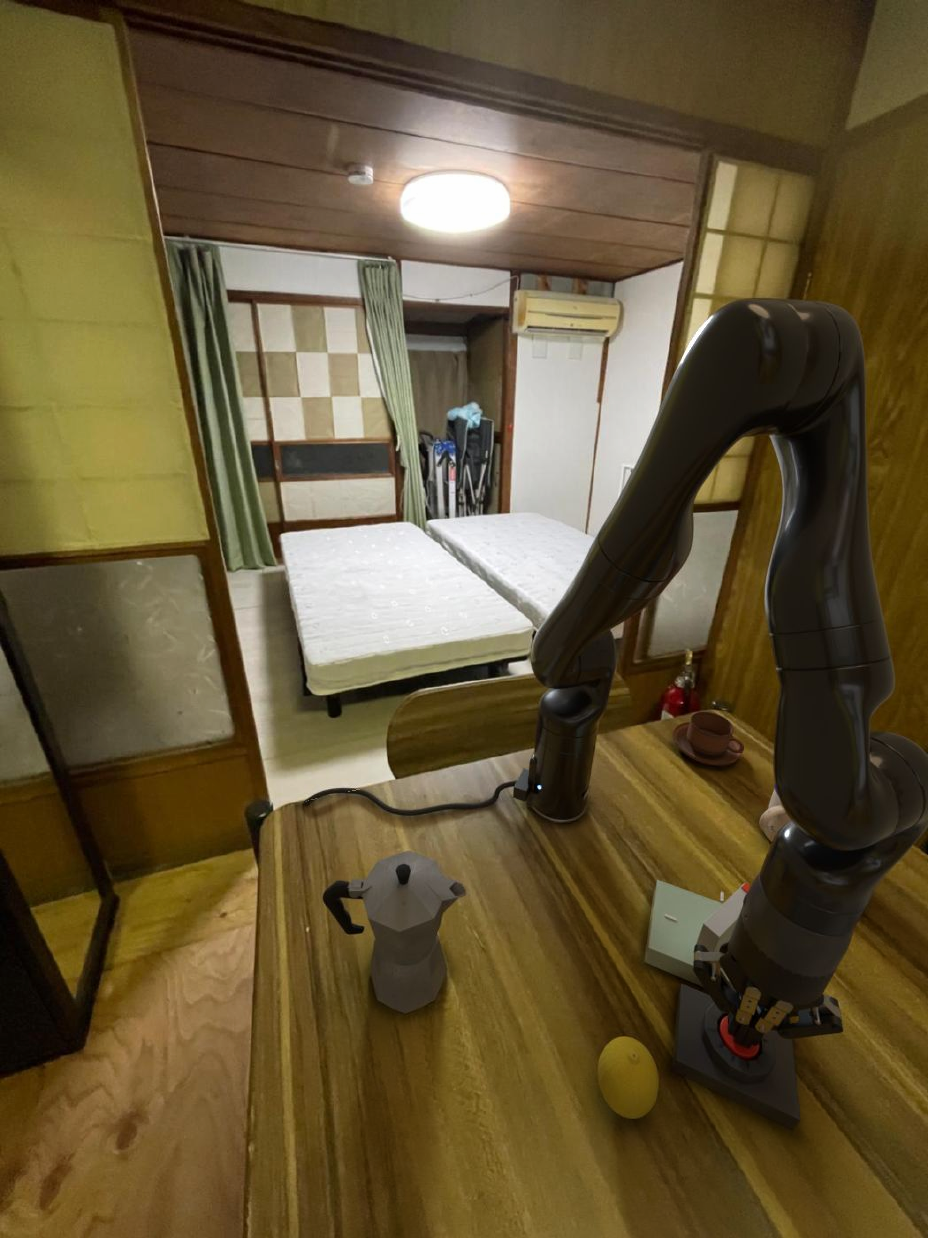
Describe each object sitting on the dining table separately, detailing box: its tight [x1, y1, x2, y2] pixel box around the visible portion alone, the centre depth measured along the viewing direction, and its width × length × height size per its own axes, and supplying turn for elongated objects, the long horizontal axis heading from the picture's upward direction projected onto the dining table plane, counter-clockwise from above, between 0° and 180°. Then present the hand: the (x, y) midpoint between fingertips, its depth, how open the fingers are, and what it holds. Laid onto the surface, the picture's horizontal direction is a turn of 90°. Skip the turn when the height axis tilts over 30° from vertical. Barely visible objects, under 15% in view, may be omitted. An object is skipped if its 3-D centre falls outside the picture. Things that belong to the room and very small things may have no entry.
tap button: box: [717, 1016, 759, 1061], centre depth 53 cm, size 4×4×2 cm
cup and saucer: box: [672, 711, 745, 767], centre depth 96 cm, size 12×12×6 cm
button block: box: [671, 983, 801, 1131], centre depth 53 cm, size 11×8×4 cm
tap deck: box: [643, 879, 736, 992], centre depth 63 cm, size 15×13×3 cm
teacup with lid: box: [758, 784, 791, 843], centre depth 77 cm, size 12×9×12 cm
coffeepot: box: [322, 850, 467, 1015], centre depth 57 cm, size 15×9×18 cm, turn 90°
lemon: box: [597, 1035, 660, 1120], centre depth 49 cm, size 6×6×8 cm
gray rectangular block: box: [693, 882, 751, 952], centre depth 61 cm, size 9×2×6 cm, turn 125°
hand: (740, 1036), depth 52 cm, fingers closed
